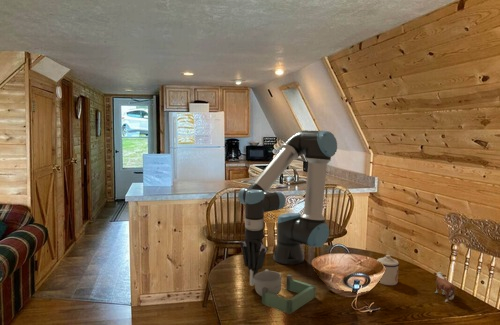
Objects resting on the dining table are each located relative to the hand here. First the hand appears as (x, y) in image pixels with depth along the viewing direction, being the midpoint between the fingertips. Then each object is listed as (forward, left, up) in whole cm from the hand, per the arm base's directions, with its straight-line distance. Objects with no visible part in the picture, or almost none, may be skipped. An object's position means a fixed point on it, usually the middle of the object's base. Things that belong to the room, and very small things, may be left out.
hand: (253, 284), depth 159 cm
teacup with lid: (-44, +39, -2) cm, 59 cm away
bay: (0, +18, -2) cm, 18 cm away
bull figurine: (-43, +62, -2) cm, 76 cm away
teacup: (0, +8, -2) cm, 8 cm away
